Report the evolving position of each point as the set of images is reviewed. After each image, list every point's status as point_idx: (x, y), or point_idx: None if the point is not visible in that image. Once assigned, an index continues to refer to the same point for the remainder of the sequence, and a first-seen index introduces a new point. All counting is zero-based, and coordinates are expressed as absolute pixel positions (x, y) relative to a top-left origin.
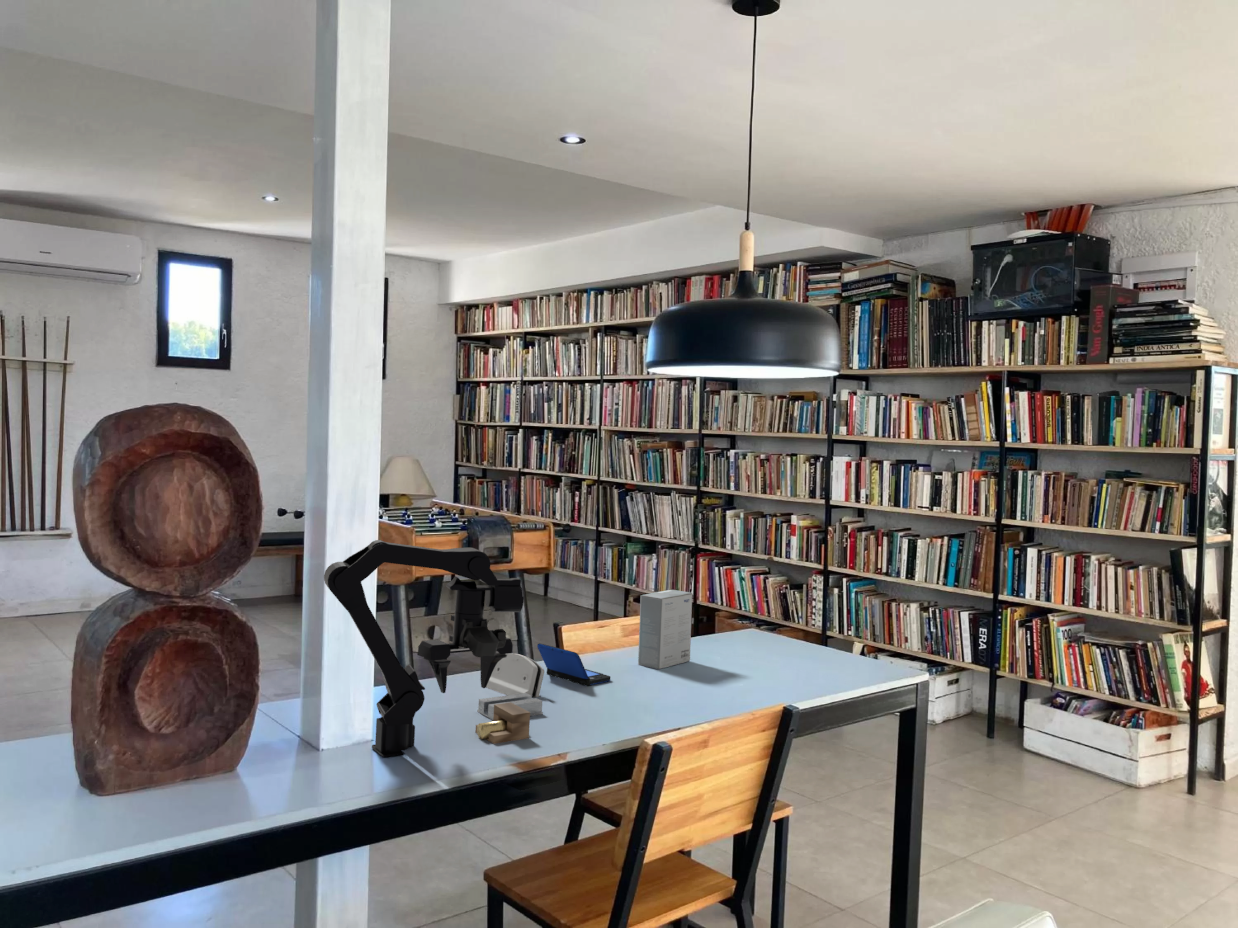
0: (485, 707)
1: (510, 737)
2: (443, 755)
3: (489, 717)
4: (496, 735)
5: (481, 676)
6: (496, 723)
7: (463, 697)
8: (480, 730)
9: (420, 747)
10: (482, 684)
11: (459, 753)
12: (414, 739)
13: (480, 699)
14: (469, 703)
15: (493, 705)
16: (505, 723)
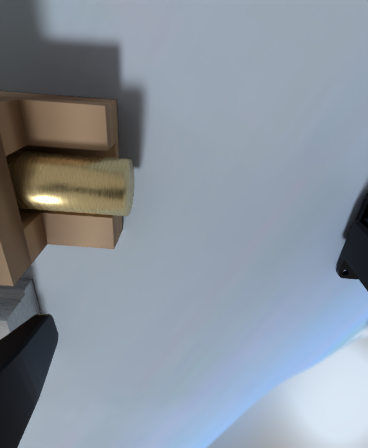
0: None
1: (33, 98)
2: (315, 119)
3: (31, 310)
4: (92, 106)
5: (22, 418)
6: (56, 179)
7: (39, 427)
8: (128, 187)
9: (318, 222)
10: (47, 346)
11: (256, 107)
12: (363, 231)
13: None
14: (39, 402)
15: (2, 335)
16: (17, 169)
